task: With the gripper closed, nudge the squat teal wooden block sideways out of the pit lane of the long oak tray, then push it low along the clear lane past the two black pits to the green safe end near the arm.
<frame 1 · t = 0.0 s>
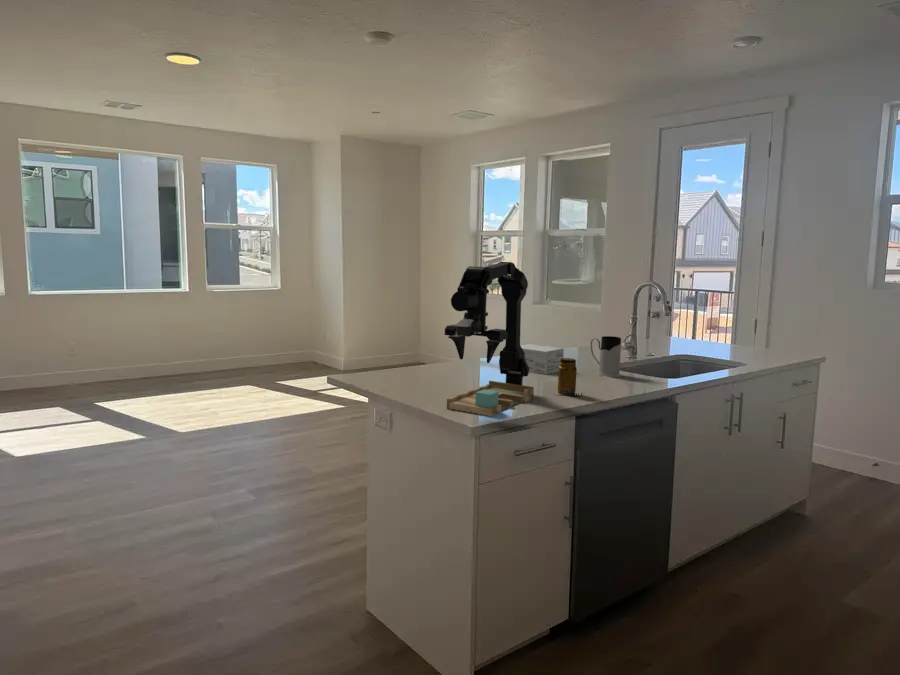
hand: (474, 361, 191), 15 cm above the counter, tool pointing down, fingers open, 9 cm apart
block: (486, 405, 190), point 2 cm above the counter, touching tray
black and white mug: (603, 374, 256), on the counter
supplement box: (537, 370, 261), on the counter
tray: (491, 403, 201), on the counter
condiment: (568, 394, 218), on the counter
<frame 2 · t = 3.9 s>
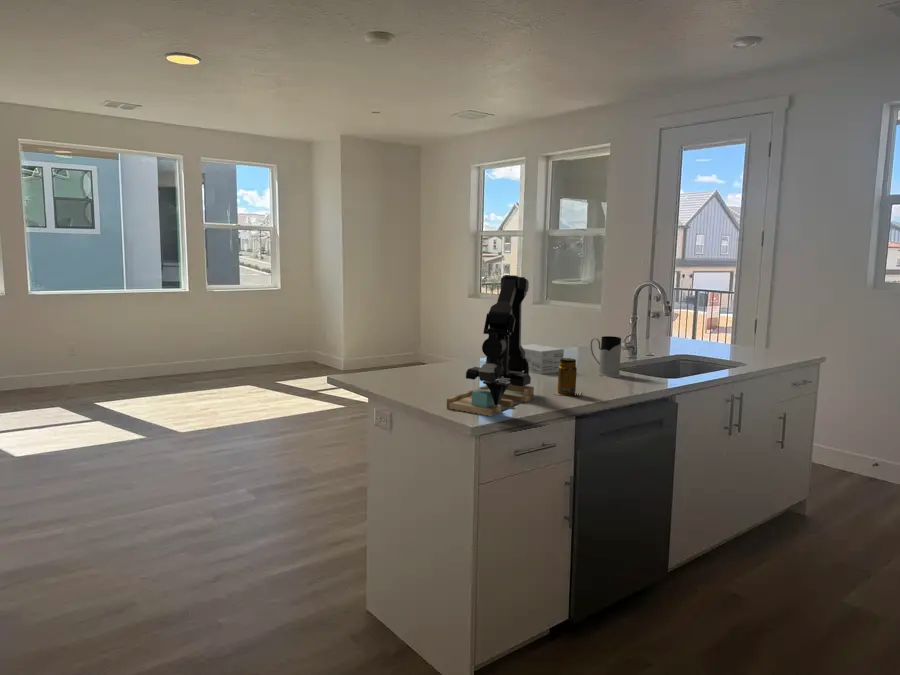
hand: (496, 405, 188), 3 cm above the counter, tool pointing down, fingers closed
block: (482, 404, 191), point 2 cm above the counter, touching gripper
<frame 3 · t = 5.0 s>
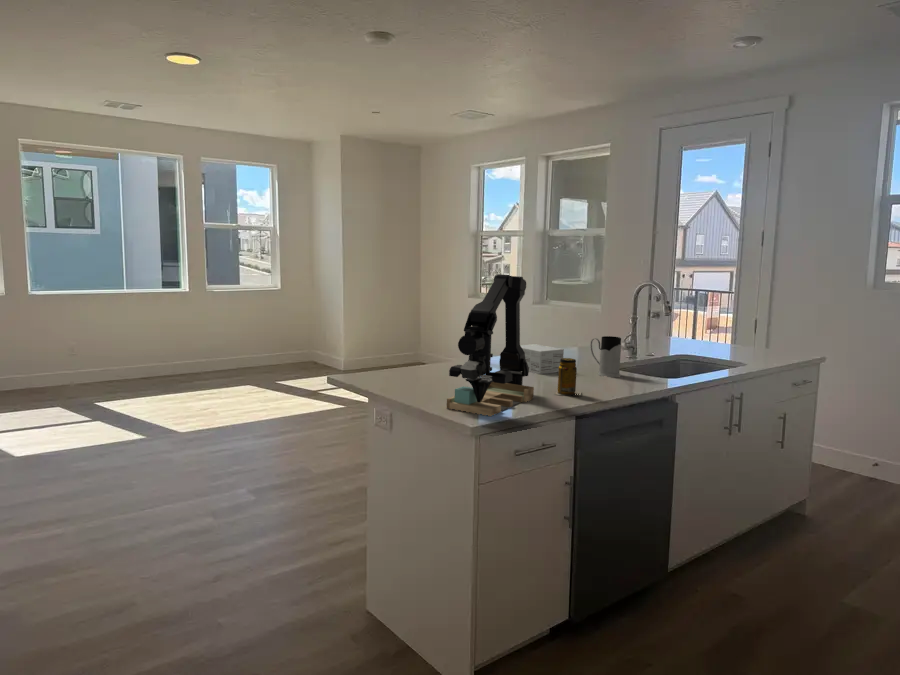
hand: (479, 402, 191), 3 cm above the counter, tool pointing down, fingers closed
block: (465, 401, 194), point 2 cm above the counter, touching gripper, tray
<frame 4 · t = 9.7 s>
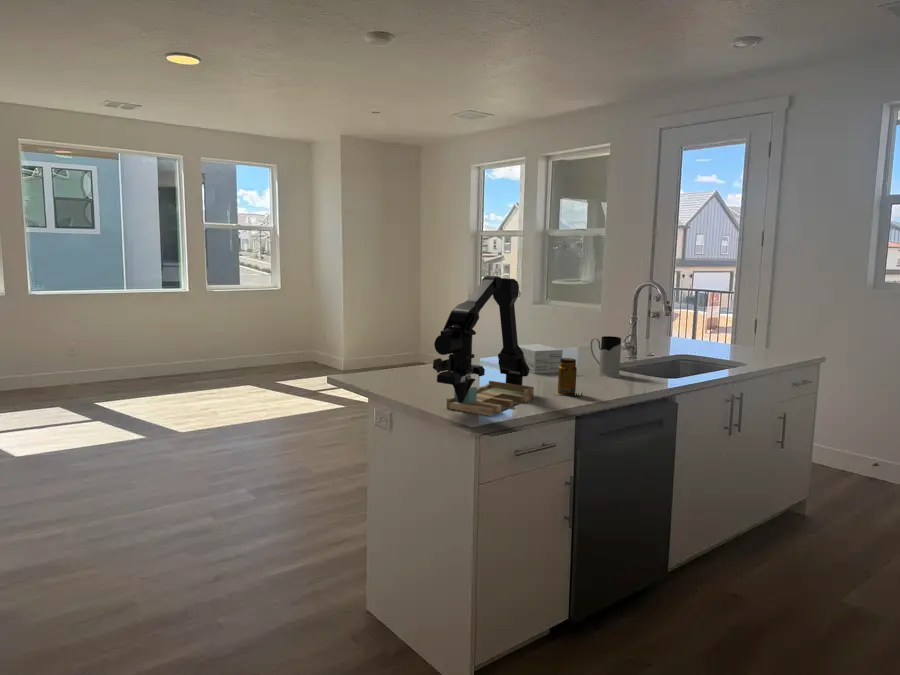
hand: (460, 402, 191), 2 cm above the counter, tool pointing down, fingers closed
block: (465, 400, 195), point 2 cm above the counter, touching gripper
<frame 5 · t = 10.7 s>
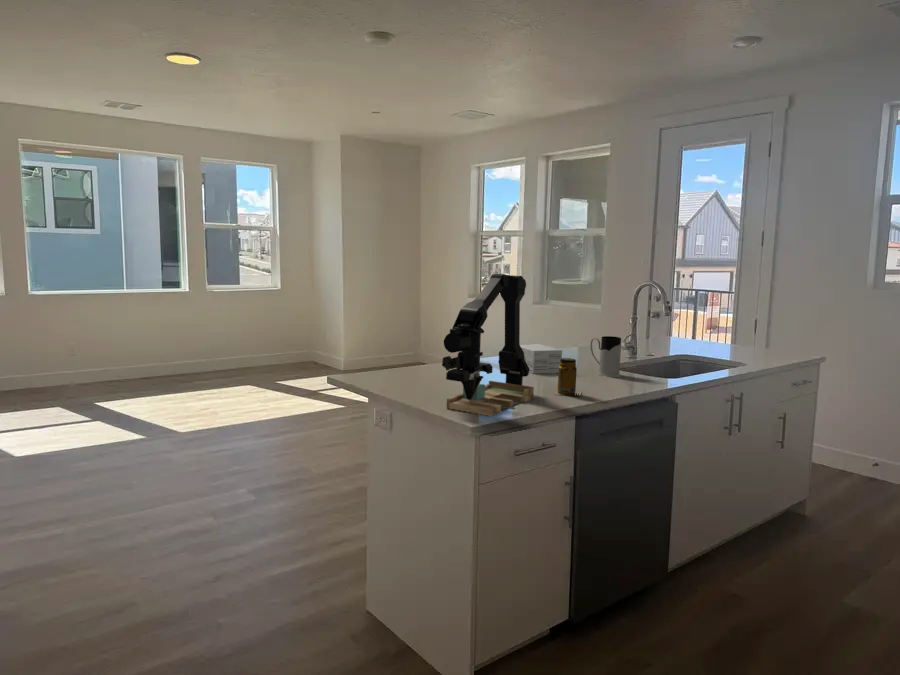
hand: (469, 399, 195), 2 cm above the counter, tool pointing down, fingers closed
block: (473, 397, 199), point 2 cm above the counter, touching gripper, tray
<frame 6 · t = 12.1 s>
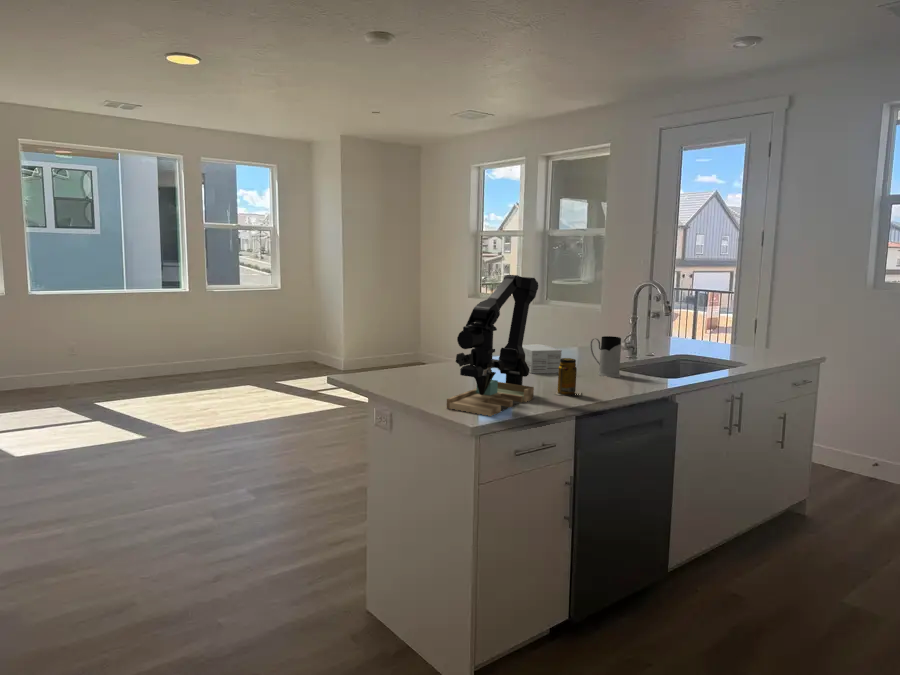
hand: (481, 394, 202), 2 cm above the counter, tool pointing down, fingers closed
block: (486, 392, 206), point 2 cm above the counter
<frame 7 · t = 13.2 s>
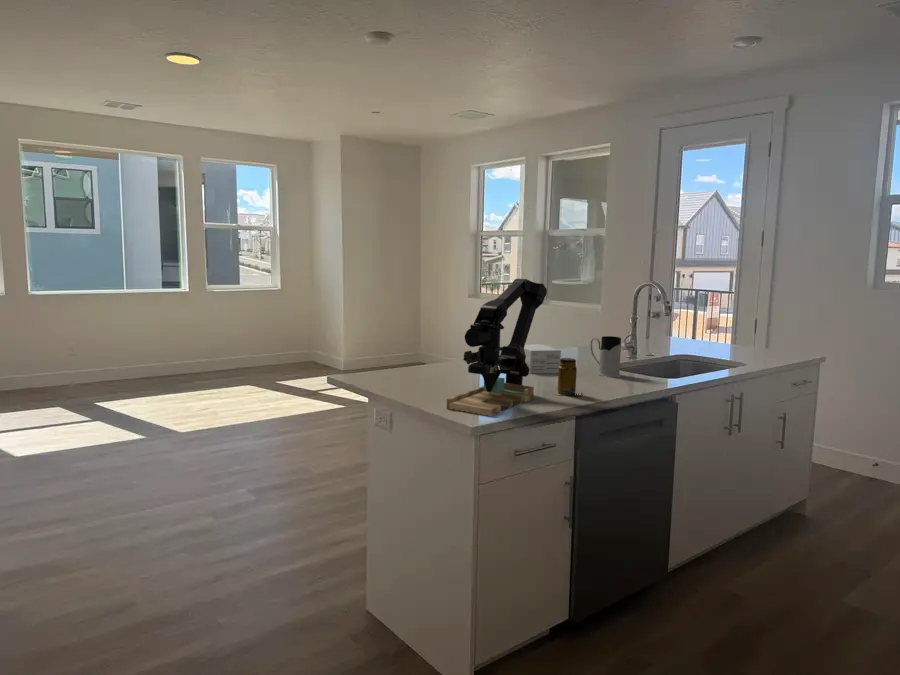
hand: (489, 391, 206), 2 cm above the counter, tool pointing down, fingers closed
block: (493, 390, 210), point 2 cm above the counter, touching gripper, tray
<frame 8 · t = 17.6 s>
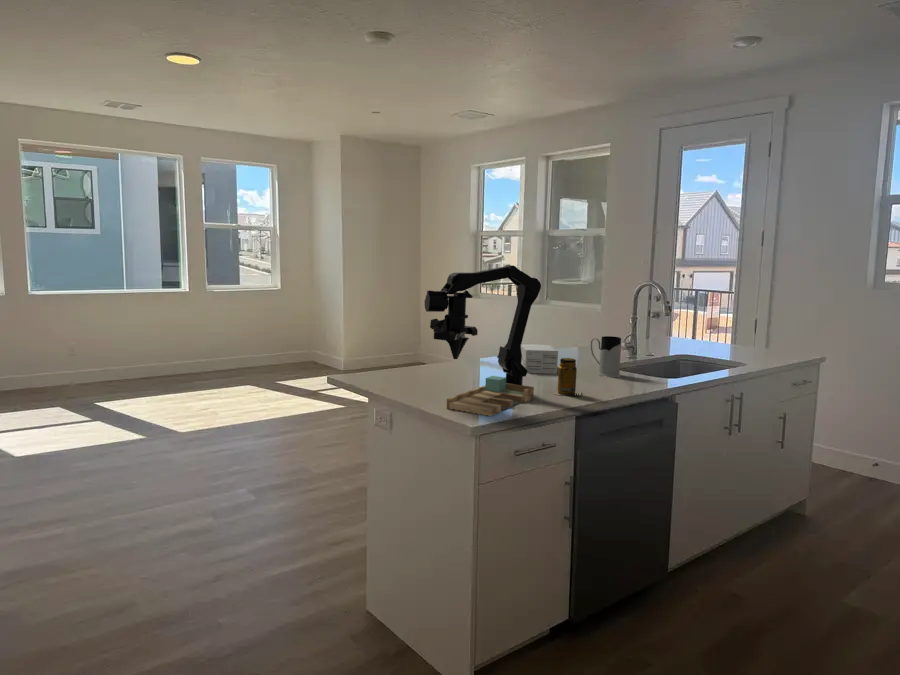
hand: (455, 359, 209), 12 cm above the counter, tool pointing down, fingers closed
block: (495, 389, 211), point 2 cm above the counter, touching tray
at the end: block inside the target area on the tray (0.8 cm from its centre), point 2.0 cm above the tray's base; block tilted 0° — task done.
